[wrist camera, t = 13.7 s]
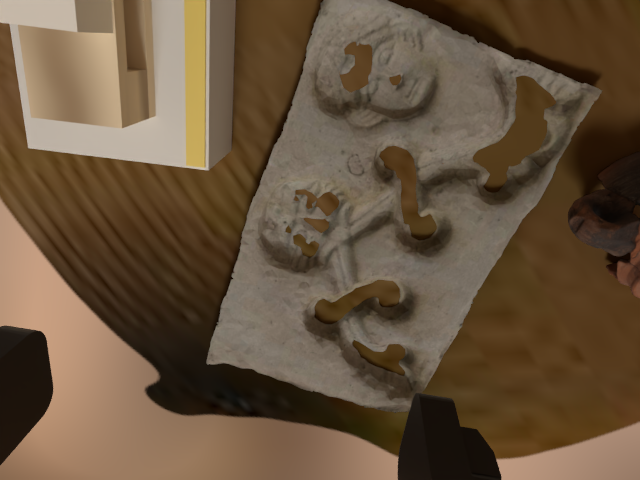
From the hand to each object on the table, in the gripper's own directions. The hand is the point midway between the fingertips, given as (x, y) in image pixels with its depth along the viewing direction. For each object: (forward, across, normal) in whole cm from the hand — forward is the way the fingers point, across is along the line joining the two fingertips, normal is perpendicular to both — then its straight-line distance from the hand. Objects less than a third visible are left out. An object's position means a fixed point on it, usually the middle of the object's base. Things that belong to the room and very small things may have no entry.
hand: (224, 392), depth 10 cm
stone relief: (+28, -5, +7) cm, 29 cm away
